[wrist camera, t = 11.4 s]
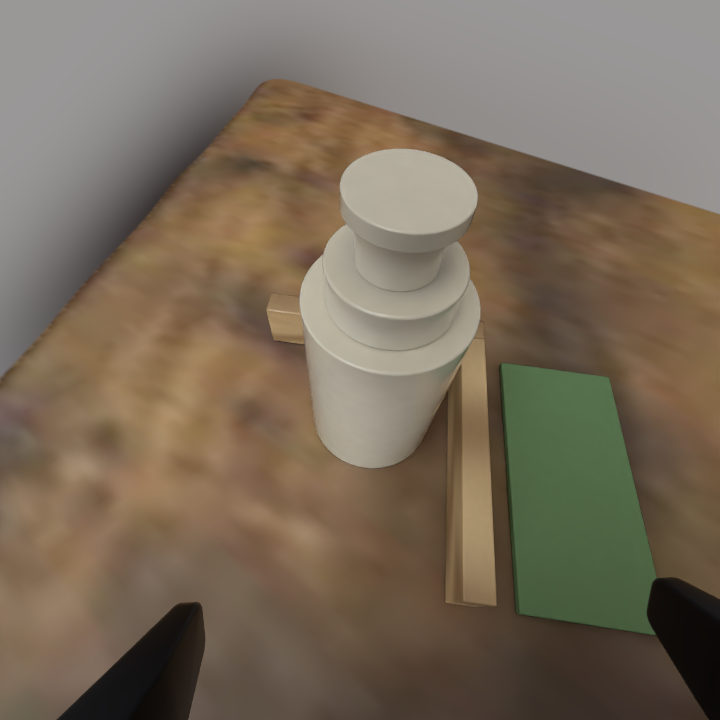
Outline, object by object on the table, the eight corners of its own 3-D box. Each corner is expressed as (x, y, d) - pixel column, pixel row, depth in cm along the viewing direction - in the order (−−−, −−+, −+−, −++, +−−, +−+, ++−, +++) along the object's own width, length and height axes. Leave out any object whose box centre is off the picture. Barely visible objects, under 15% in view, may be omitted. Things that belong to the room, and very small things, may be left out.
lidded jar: (425, 477, 19) (547, 293, 8) (302, 459, 19) (255, 256, 8) (430, 370, 22) (520, 135, 11) (324, 356, 22) (312, 111, 11)
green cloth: (664, 636, 16) (671, 637, 16) (515, 613, 16) (519, 613, 16) (605, 380, 22) (609, 377, 22) (498, 365, 23) (501, 362, 22)
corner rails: (474, 607, 16) (497, 606, 14) (203, 565, 17) (181, 557, 14) (469, 350, 23) (484, 320, 21) (278, 324, 23) (271, 292, 21)
